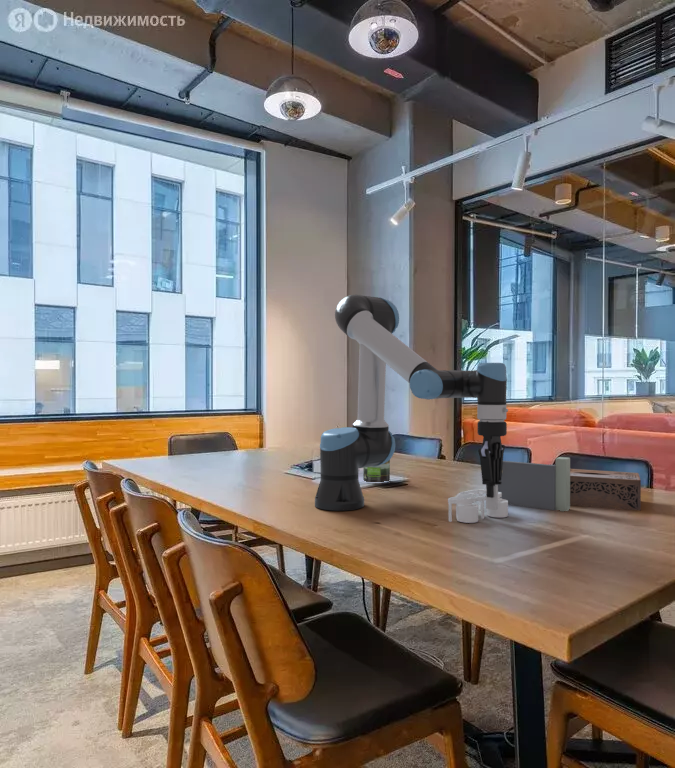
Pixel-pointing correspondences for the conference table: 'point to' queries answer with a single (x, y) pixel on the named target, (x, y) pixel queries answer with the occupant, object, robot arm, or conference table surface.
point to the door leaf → (537, 484)
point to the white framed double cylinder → (475, 506)
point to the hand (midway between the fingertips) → (491, 508)
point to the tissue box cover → (605, 489)
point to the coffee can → (377, 473)
